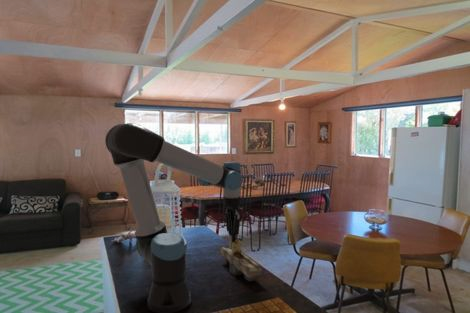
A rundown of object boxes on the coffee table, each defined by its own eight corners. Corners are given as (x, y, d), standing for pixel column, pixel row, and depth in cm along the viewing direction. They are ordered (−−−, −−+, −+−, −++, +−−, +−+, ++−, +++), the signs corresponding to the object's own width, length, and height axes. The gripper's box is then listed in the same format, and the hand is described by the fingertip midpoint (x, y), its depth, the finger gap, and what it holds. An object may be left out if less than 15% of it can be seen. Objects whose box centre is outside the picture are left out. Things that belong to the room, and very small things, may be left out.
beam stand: (262, 283, 129) (262, 265, 128) (246, 287, 126) (246, 269, 125) (233, 259, 154) (233, 244, 154) (219, 262, 151) (219, 247, 151)
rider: (243, 256, 141) (242, 240, 140) (234, 258, 139) (234, 241, 139) (239, 253, 144) (238, 237, 144) (230, 255, 143) (230, 239, 142)
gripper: (246, 198, 139) (246, 252, 141) (233, 193, 151) (234, 243, 153) (230, 199, 136) (231, 254, 138) (218, 194, 148) (219, 245, 149)
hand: (232, 248), depth 145 cm, fingers closed
